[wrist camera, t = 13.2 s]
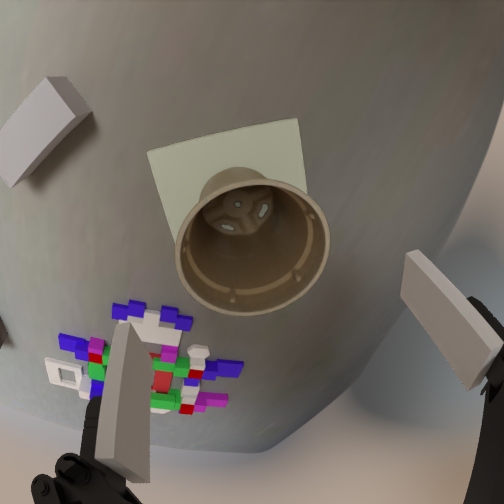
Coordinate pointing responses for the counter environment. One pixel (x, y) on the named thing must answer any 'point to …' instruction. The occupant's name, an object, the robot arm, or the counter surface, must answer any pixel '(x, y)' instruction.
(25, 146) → the grey block
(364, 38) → the counter surface
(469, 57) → the counter surface
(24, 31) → the counter surface
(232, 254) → the flower pot
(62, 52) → the counter surface
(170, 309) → the building block set
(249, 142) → the coaster
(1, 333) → the dark block
